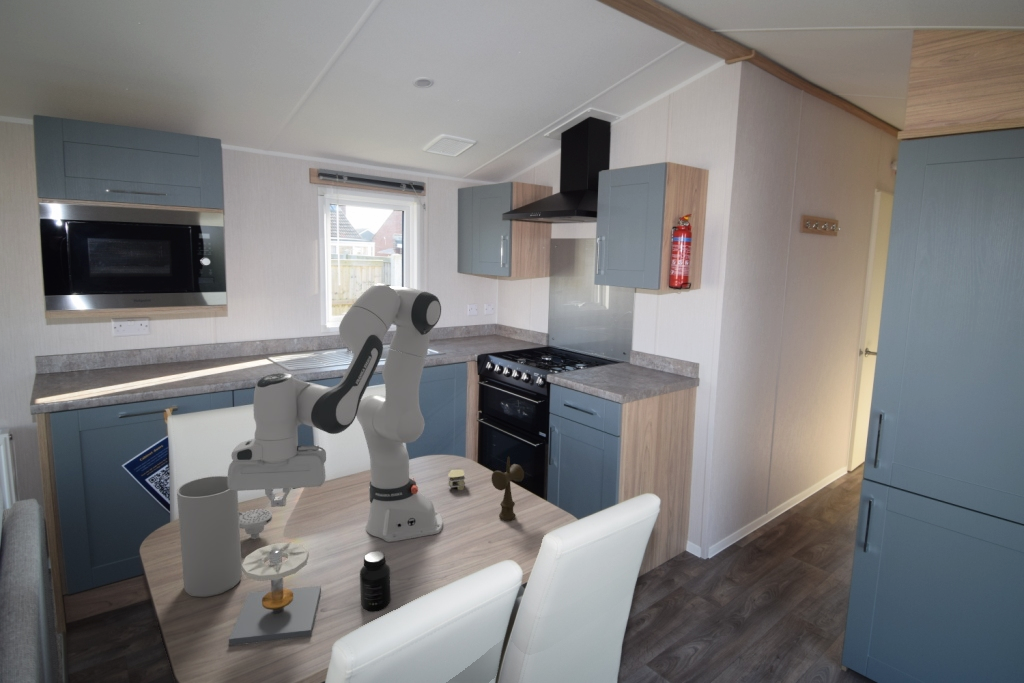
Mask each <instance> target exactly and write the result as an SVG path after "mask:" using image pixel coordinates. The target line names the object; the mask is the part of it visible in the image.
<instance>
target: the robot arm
mask: <svg viewBox="0 0 1024 683" xmlns="http://www.w3.org/2000/svg"><path fill="white" fill-rule="evenodd" d="M441 316H442V305H441V301H440V299H439V298H438V296H436V295H435V294H432V293H431V292H428V291H422V290H419V289H415V288H411V287H409V286H396V285H390V284H384V283H377V284H373V285H371V286H370V287H368V289H366V290H365V291H364V292H363V293H362V294H361V295H360V296H359V297H358V298H357V299H356V300H355V302H354V303H353V304H352V305H351V306H350V307H349V309H348V311H347V312H346V313H345V314H344V316H343V317H342V319H341V321H340V324H339V326H338V331H339V336H340V339H341V341H342V342H343V344H344V345H345V347H346V348H348V350H350V352H352V353H353V357H352V360H351V361H350V363H349V365H348V366H347V369H346V371H345V373H344V374H343V376H342V378H341V380H340V382H338V384H336V385H334V386H326V385H321V384H318V383H314V382H308V381H305V380H304V381H303V380H301V379H299V378H297V377H294V376H293V375H292V374H291V373H287V372H278V373H277V372H276V373H271V374H268V375H266V376H263V377H261V378H259V380H257V382H256V384H255V388H254V392H253V419H254V422H255V432H254V438H252V439H248V440H245V441H242V442H240V443H239V444H238V445H236V447H235V448H234V449H233V450H232V452H231V455H230V456H231V459H232V461H231V462H230V464H229V466H228V468H227V476H228V477H227V486H228V488H229V489H230V490H231V491H238V492H241V491H242V492H243V491H257V490H258V491H259V490H260V491H261V490H263V491H264V492H265V495H266V497H267V498H268V499H269V500H270V507H271V508H278V507H279V508H282V507H286V505H287V497H288V495H289V493H290V492H291V490H292V489H296V488H300V489H301V488H315V487H317V488H318V487H321V486H322V485H323V484H324V483H325V482H326V479H327V478H326V477H327V476H326V469H325V468H326V467H325V464H326V461H327V452H326V450H325V449H324V448H323V447H320V446H319V445H314V444H313V445H299V434H298V433H299V432H298V431H299V430H298V427H299V426H301V425H305V426H309V427H312V428H316V429H318V430H321V431H323V432H326V433H327V434H332V435H334V434H335V435H336V434H339V433H342V432H344V431H345V430H347V429H348V428H349V427H350V426H351V425H353V423H354V421H355V419H357V421H358V422H359V424H360V426H361V429H362V432H363V434H364V438H365V442H366V445H367V449H368V454H369V460H370V461H369V462H370V463H369V464H370V466H369V467H370V481H369V487H368V498H369V499H368V500H369V502H370V504H369V513H368V518H367V522H366V526H365V530H366V532H367V533H368V534H369V535H371V536H374V537H376V538H380V539H382V540H384V541H385V542H388V543H393V542H398V541H403V540H409V539H415V538H420V537H425V536H427V537H428V536H431V535H437V534H439V533H440V532H441V531H442V530H443V525H444V523H443V517H442V515H441V514H440V512H438V511H437V510H435V506H434V504H433V501H432V500H431V498H430V497H428V496H426V495H424V494H423V493H422V492H419V487H418V486H417V482H416V481H415V478H412V479H411V478H410V457H409V452H408V450H407V449H406V447H405V445H404V444H411V443H414V442H415V441H417V440H418V439H419V438H420V437H421V436H422V434H423V432H424V430H425V426H426V424H425V422H426V421H425V418H424V416H423V414H422V411H421V407H420V383H421V378H422V375H423V370H424V367H425V363H426V358H427V354H428V352H429V351H428V350H429V346H430V341H431V340H430V338H431V331H432V329H433V328H434V327H435V326H436V325H437V324H438V322H439V321H440V318H441ZM392 325H393V326H395V327H396V330H395V331H394V333H393V336H392V339H391V340H390V345H389V347H388V351H387V354H386V358H385V361H384V365H383V368H382V372H381V377H382V380H383V382H384V385H385V386H384V387H385V388H384V389H385V395H383V394H381V395H380V394H373V395H366V396H365V397H364V398H363V396H364V394H365V392H366V390H367V388H368V386H369V384H370V382H371V380H372V377H373V376H374V373H375V371H376V369H377V368H378V366H379V363H380V360H381V359H382V355H383V351H384V345H383V342H382V341H383V339H384V337H385V336H386V334H387V333H388V331H389V329H390V328H391V326H392ZM279 489H280V490H281V489H282V493H284V494H283V496H276V495H275V494H274V492H273V491H274V490H279Z"/></svg>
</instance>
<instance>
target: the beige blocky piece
mask: <svg viewBox="0 0 1024 683" xmlns="http://www.w3.org/2000/svg"><path fill="white" fill-rule="evenodd" d="M465 474H466V473H465V471H464V469H451V470H450V471H449V472H448V474H447V481H448V483H447V486H448V487H450V488H457V491H463V490H464V489H465V488H464V486H465V484H466V483H465V481H464V480H465V479H466V477H465Z"/></svg>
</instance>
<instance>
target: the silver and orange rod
mask: <svg viewBox="0 0 1024 683" xmlns="http://www.w3.org/2000/svg"><path fill="white" fill-rule="evenodd" d="M281 562H283V557H282V551H281V550H280V549H275V550H272V551H271V552H270V559H269V565H272V564H278V563H281ZM270 583H271V584H270V586H271V590H270V591H271V592H269V593H267V594H266V595H265V596H264V597H263V598H262V606H263V607H264V608H266V609H269V610H272V611H273V613H274V614H279V613H281V612H283V611H284V607H285V606H287V605H289V604H290V603H291V602H292V601H293V592H292V591H291V590H289V589H290V588H284V578H281V579H277V580H270Z"/></svg>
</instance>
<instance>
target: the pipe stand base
mask: <svg viewBox="0 0 1024 683" xmlns="http://www.w3.org/2000/svg"><path fill="white" fill-rule="evenodd" d="M288 589H289V590H291V591H292V592H293V601H292V602H291V603H290V604H289V605H287V606H285V607H284V611H283V612H281V613H279V614H274V613H273V611H272V610H269V609H266V608H264V607H263V606H262V598H263V597H264V596H265V595H266V594H267V593H269V592H271V590H265V591H253V592H248V594H247V597H246V599H245V600H244V603H243V606H242V608H241V610H240V612H239V615H238V617H237V620H236V622H235V623H234V626H233V629H232V631H231V634H230V636H229V638H228V646H238V645H239V644H240V645H246V643H248V644H254V643H255V644H256V642H257V643H265V642H273V641H274V642H275V641H282V640H291V639H300V638H301V639H302V638H309V637H312V633H313V630H314V625H315V620H316V616H317V611H318V606H319V602H320V598H321V594H322V585H316V586H306V587H295V588H288Z"/></svg>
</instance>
